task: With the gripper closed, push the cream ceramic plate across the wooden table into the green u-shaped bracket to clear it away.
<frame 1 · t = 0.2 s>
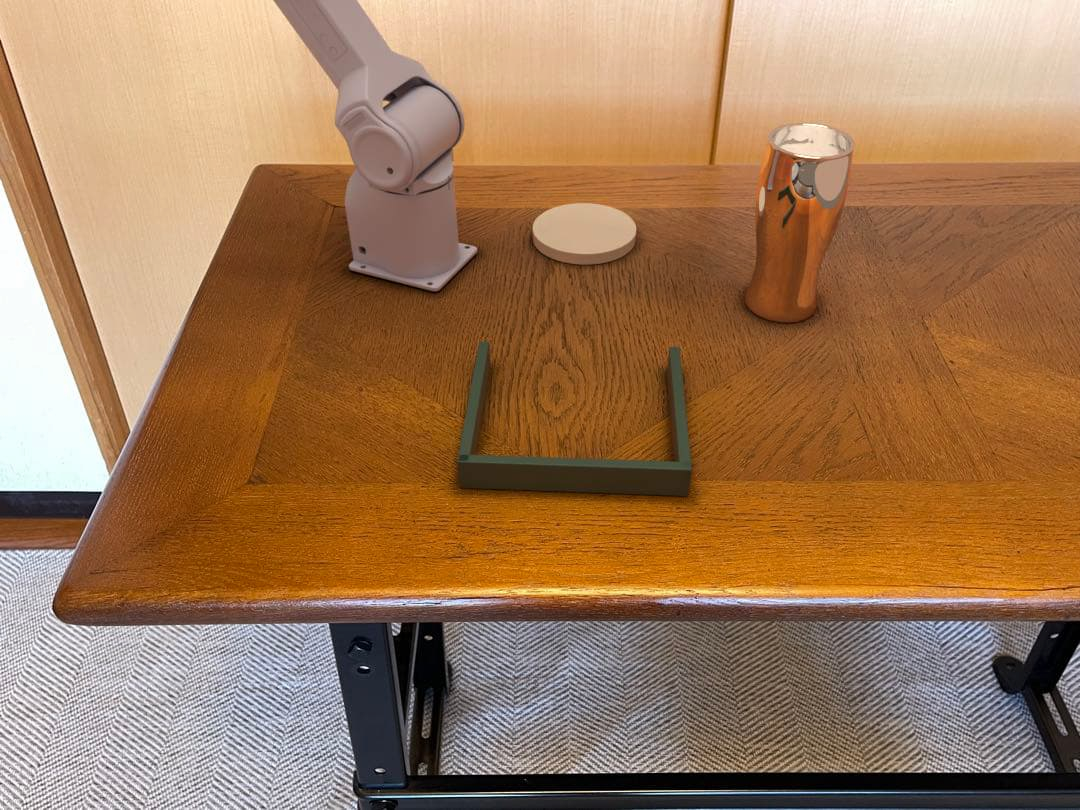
green u-shaped bracket: (576, 422, 69), on the table
plate: (584, 238, 90), on the table
beer glass: (779, 305, 81), on the table
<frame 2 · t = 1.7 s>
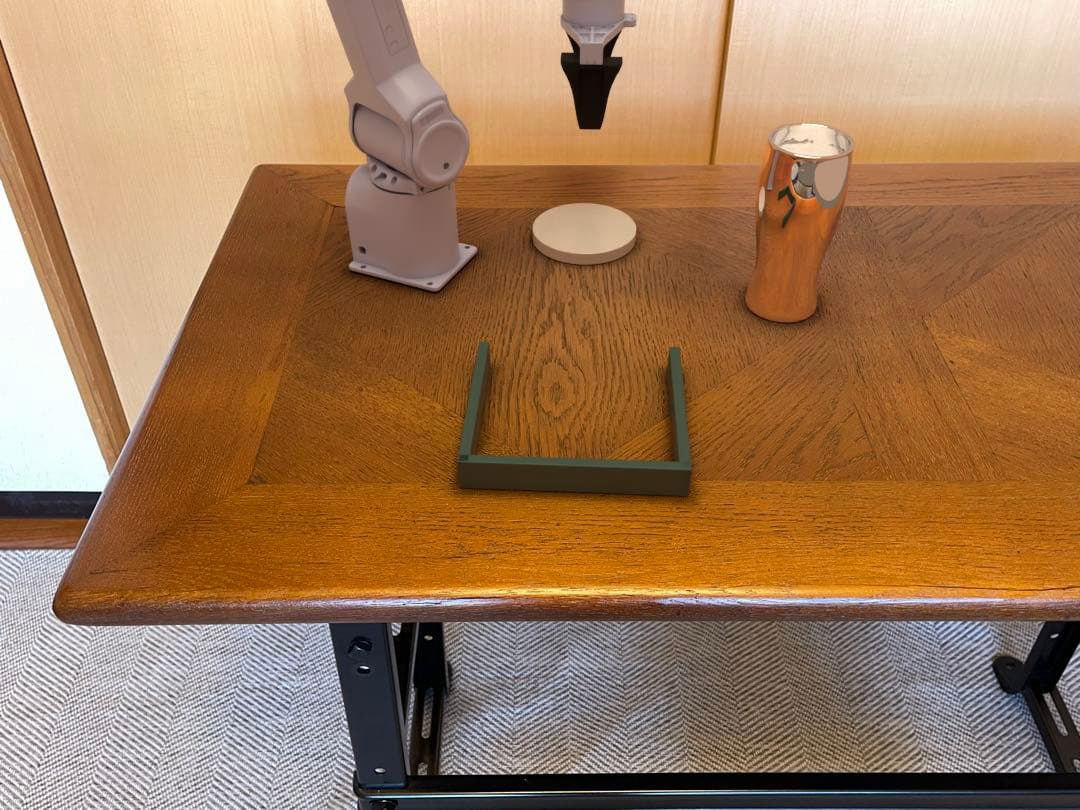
hand: (590, 112, 92), 9 cm above the table, tool pointing down, fingers open, 7 cm apart
nothing on the table moved.
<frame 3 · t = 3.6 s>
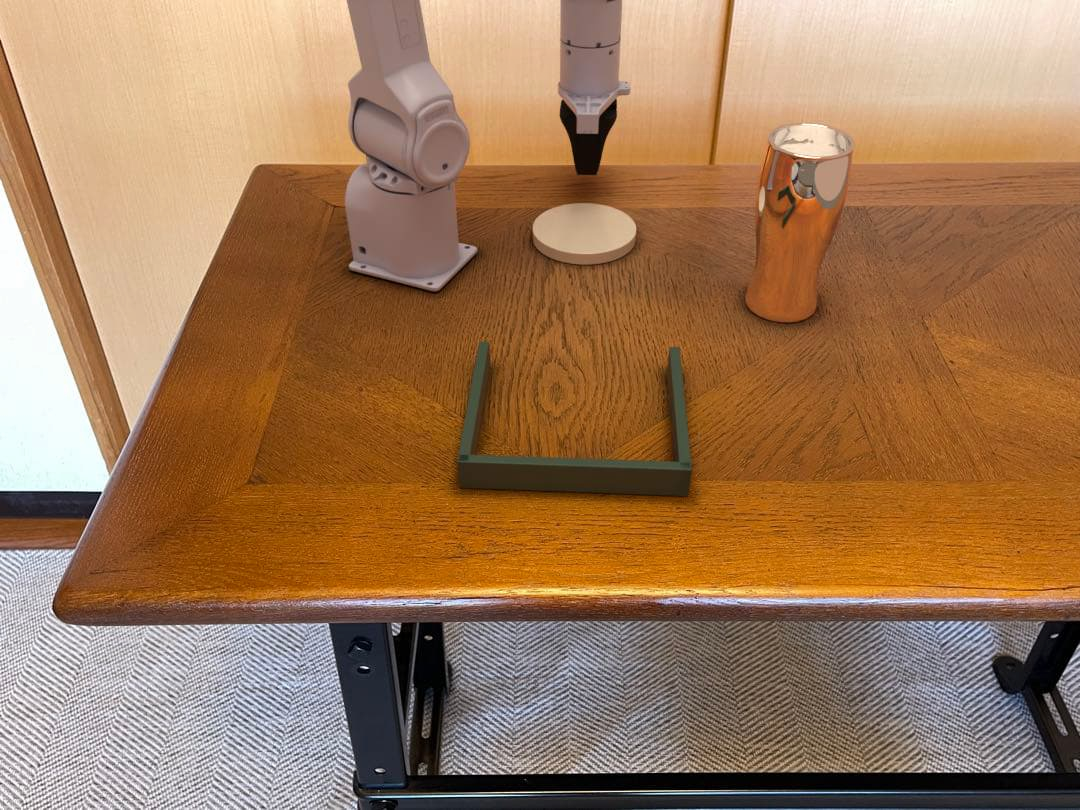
hand: (586, 172, 96), 2 cm above the table, tool pointing down, fingers closed
nothing on the table moved.
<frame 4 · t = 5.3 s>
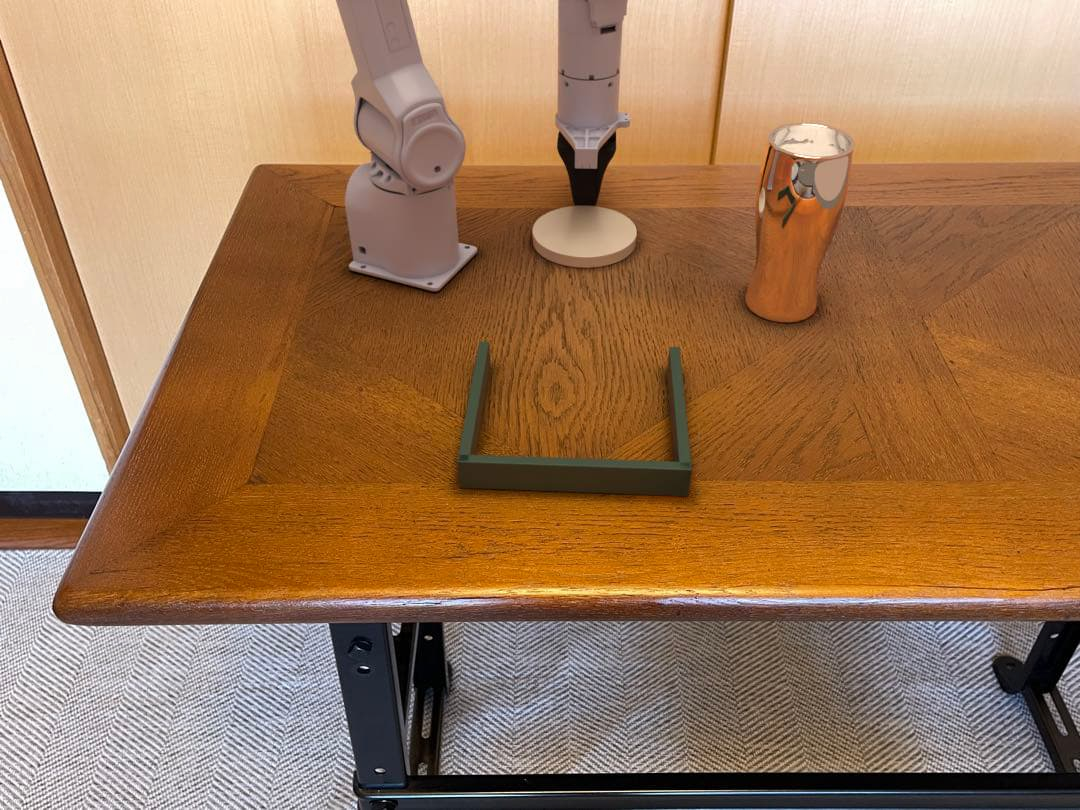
hand: (585, 204, 93), 1 cm above the table, tool pointing down, fingers closed
plate: (584, 240, 89), on the table, touching gripper
everything else where it was.
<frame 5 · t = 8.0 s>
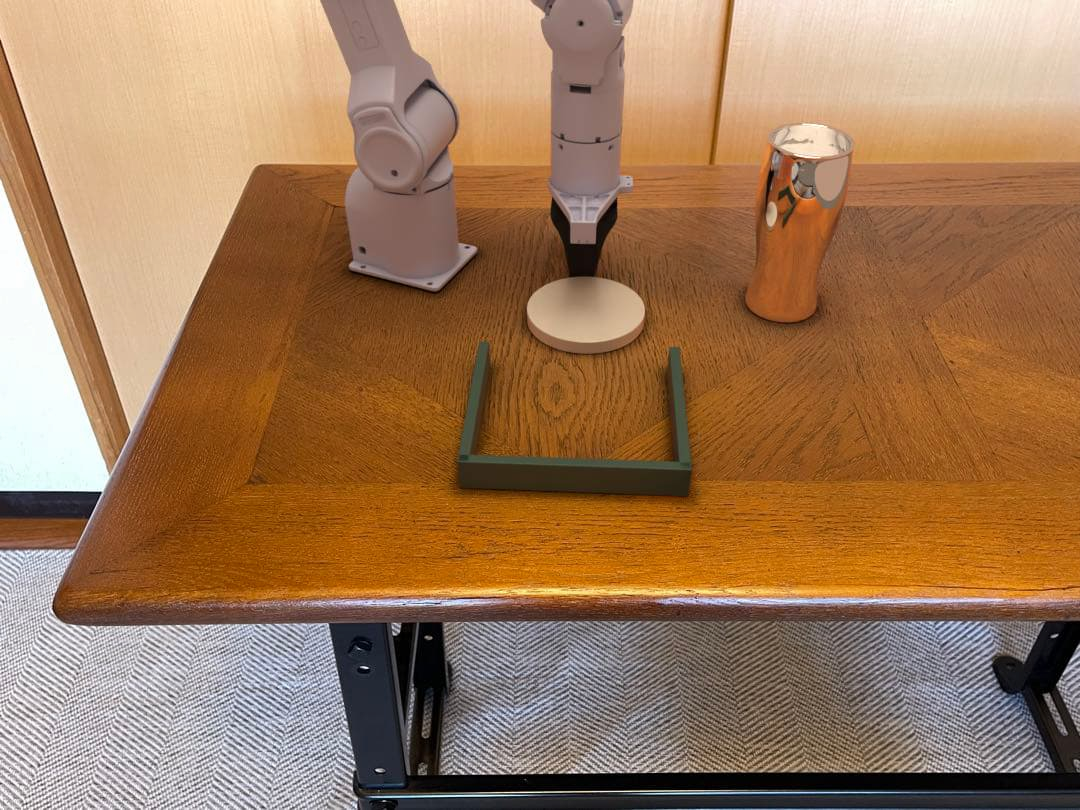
hand: (582, 275, 83), 1 cm above the table, tool pointing down, fingers closed
plate: (585, 319, 79), on the table, touching gripper
everything else where it was.
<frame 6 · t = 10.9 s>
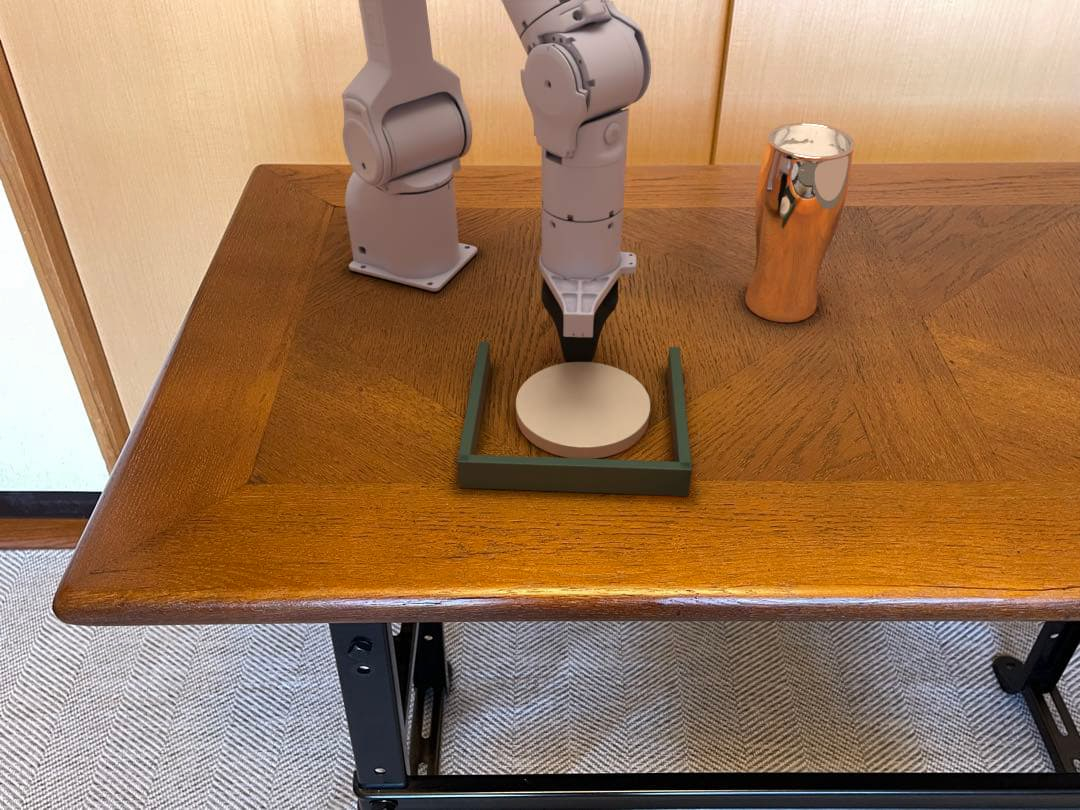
hand: (578, 359, 73), 1 cm above the table, tool pointing down, fingers closed
plate: (582, 414, 69), on the table, touching gripper
everything else where it was.
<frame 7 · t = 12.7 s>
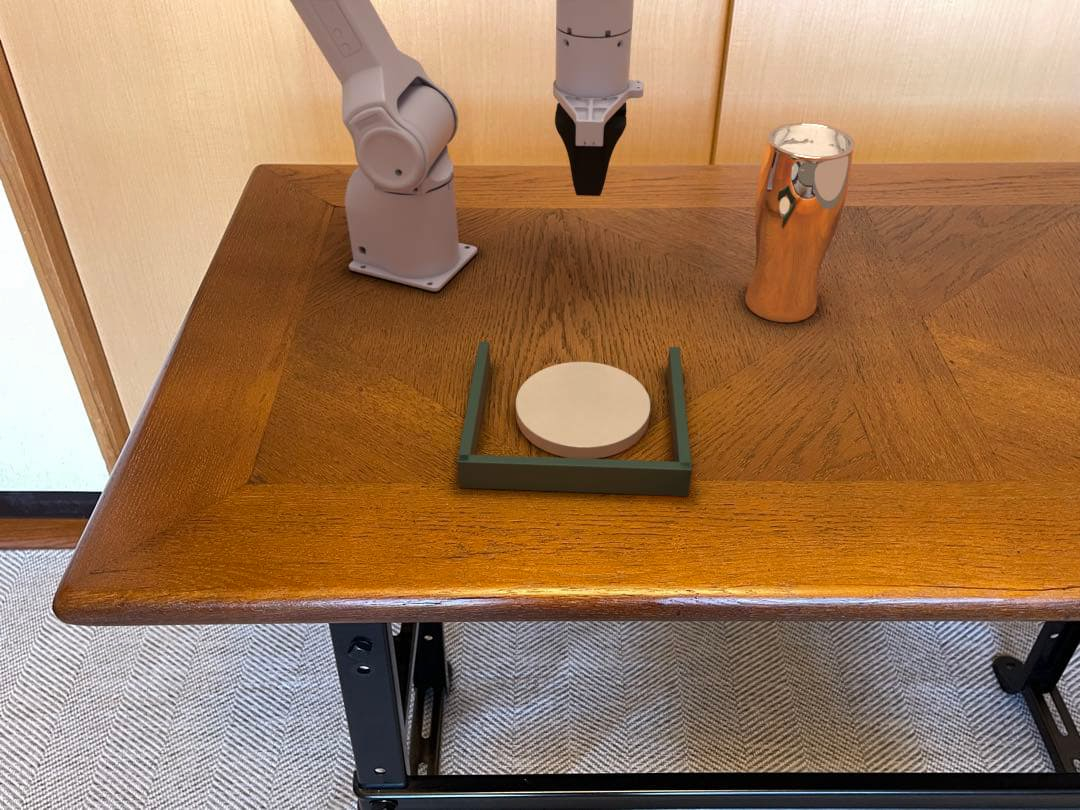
hand: (588, 192, 78), 9 cm above the table, tool pointing down, fingers closed
plate: (582, 414, 69), on the table
everything else where it was.
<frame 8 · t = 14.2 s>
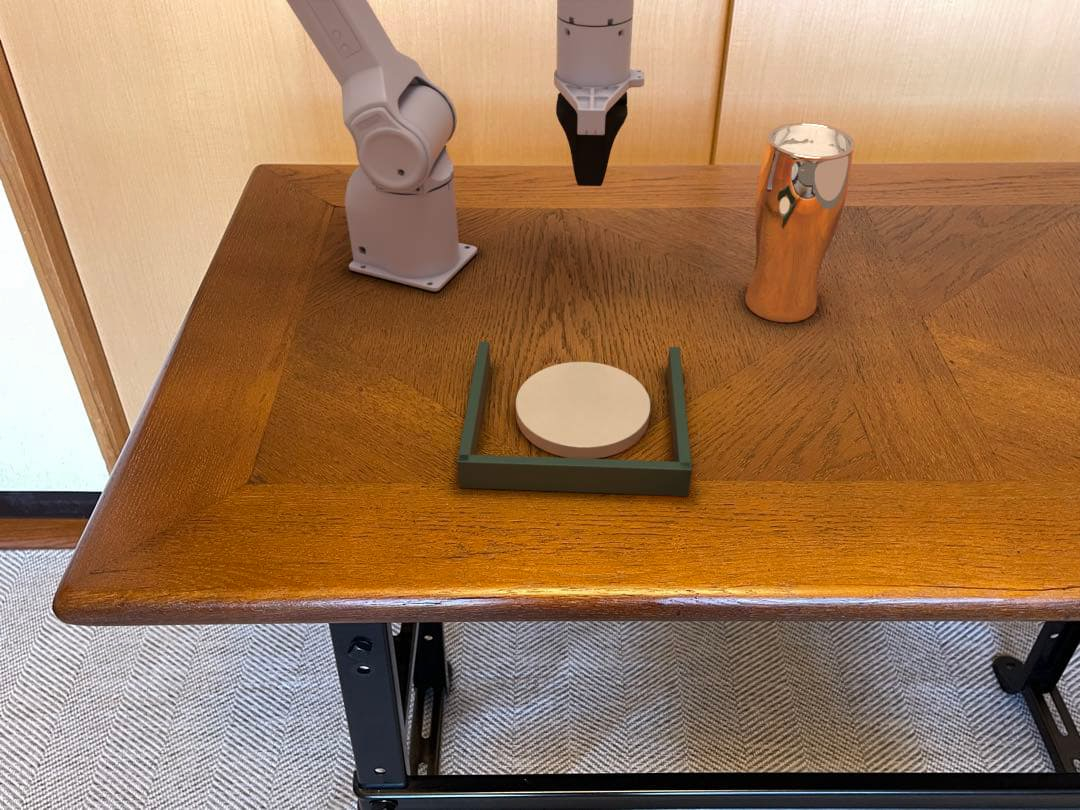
hand: (589, 182, 78), 9 cm above the table, tool pointing down, fingers closed
nothing on the table moved.
at the end: plate inside the target area on the green u-shaped bracket (1.1 cm from its centre), point 0.0 cm above the green u-shaped bracket's base; plate tilted 0°; beer glass tilted 0° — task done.
